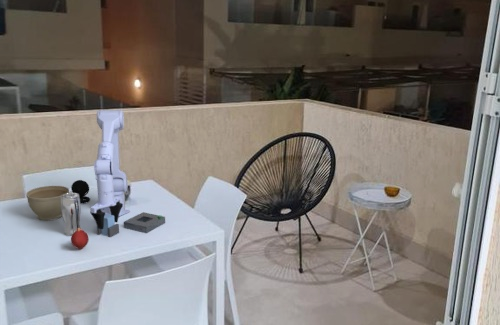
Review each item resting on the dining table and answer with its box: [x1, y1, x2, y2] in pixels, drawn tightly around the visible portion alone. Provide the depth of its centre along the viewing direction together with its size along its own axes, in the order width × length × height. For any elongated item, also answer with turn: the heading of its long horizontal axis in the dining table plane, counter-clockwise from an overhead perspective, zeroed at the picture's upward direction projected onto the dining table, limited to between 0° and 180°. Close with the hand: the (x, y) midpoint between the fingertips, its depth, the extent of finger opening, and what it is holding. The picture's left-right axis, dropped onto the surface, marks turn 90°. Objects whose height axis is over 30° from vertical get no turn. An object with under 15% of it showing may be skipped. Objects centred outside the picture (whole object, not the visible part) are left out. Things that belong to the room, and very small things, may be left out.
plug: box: [101, 214, 116, 237], centre depth 179 cm, size 4×4×7 cm
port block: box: [123, 211, 166, 234], centre depth 187 cm, size 11×12×3 cm
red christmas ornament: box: [70, 227, 90, 250], centre depth 165 cm, size 6×6×8 cm
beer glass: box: [60, 192, 82, 237], centre depth 177 cm, size 7×7×15 cm
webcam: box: [70, 179, 91, 204], centre depth 213 cm, size 8×8×10 cm
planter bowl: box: [25, 185, 70, 221], centre depth 194 cm, size 16×16×11 cm
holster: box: [96, 223, 120, 238], centre depth 179 cm, size 6×5×4 cm
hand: (107, 225), depth 179 cm, fingers open, 7 cm apart
